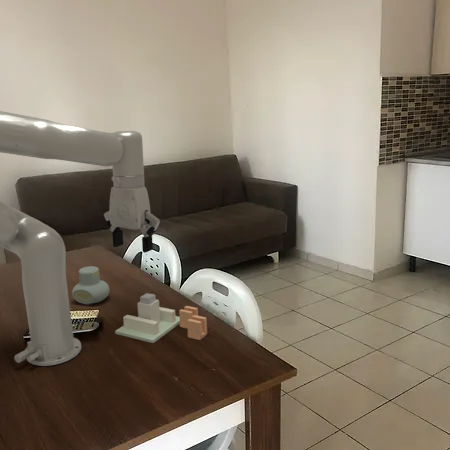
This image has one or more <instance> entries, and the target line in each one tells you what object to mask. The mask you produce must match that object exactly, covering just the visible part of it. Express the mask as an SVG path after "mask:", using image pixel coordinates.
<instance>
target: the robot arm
mask: <svg viewBox="0 0 450 450" xmlns="http://www.w3.org/2000/svg"><path fill="white" fill-rule="evenodd" d="M0 153H1V154H2V153H3V154H9V155H17V156H23V157H29V158H36V159H43V160H45V159H46V160H57V161H58V160H59V161H66V162H71V163H72V162H73V163H77V164H78V163H79V164H88V165H92V166H93V165H94V166H100V167H111V166H112V176H111V181H112V182H113V186H111V188H110V194H109V195H110V196H109V210H108V211H106V212H104V213H103V216H104V219H105V221H106V224H107V225H108V228H109V231H110V232H111V233H112V235H111V236H112V245H113V246H112V247H114V248H118V247H121V246H123V245H124V233H123V232H124V231H123V228H124V229H127V230H136V231H137V230H139V231H140V232H141V234H142V237H141V244H142V245H141V247H142V249H141V250H142V252H143V253H144V254H146V253H149V252H150V251H153V248H154V247H153V236H154V235H155V233H156V232H157V230H158V228H159V225H160V222H161V220H160V218H158V217H157V216H155V215H154V214H153V213H151V205H150V198H149V193H148V190H147V187H145V169H144V168H145V167H144V166H145V165H144V147H143V136H142V134H141V132H139V131H136V130H134V131H133V130H123V131H122V130H119V131H114V132H106V131H101V130H97V129H96V130H95V129H90V128H85V127H80V126H79V127H78V126H74V125H69V124H63V123H59V122H55V121H52V120H48V119H44V118H41V117H40V118H39V117H34V116H29V115H23V114H18V113H14V112H13V113H12V112H7V111H2V110H0ZM107 225H106V226H107ZM121 228H122V229H121ZM64 242H65V241H64V240H63V238H62V236H61V234H60V233H58V231H56V230H55V229H54V228H53V227H50V226H49V225H48V224H45V223H43V222H42V221H40V220H38V219H37V218H35V217H32V216H30V215H28V214H26V213H25V212H22V211H21V210H19V209H16V208H15V207H13V206H11V205H9V204H7V203H5V202H3V201H2V200H0V248H2V249H4V250H7V251H8V252H11V253H13V254H15V255H16V256H18V258H19V259H20V262H21V264H20V265H21V281H22V283H21V284H22V289H23V290H22V291H23V296H24V303H25V308H26V309H25V310H26V316H27V323H28V329H29V337H30V340H29V341H27V342H26V344H27V347H26V348H24V350H23V351H20V352H18V353H17V354H15V355H14V358H13V359H14V361H15V362H16V363H19V364H20V363H22V362H24V361H27V362H28V363H29V364H32V365H35V366H41V367H47V366H48V367H50V366H54V365H55V366H56V365H60V364H62V363H63V364H64V363H66V362H68V361H70V360H72V359H73V358H75V357H77V356H78V354H79V353H80V352H81V350H82V343H81V341H80V340H79V339H78V338H76V337H74V331H73V330H74V329H73V323H72V315H71V308H70V301H69V300H70V298H69V292H68V291H69V290H68V282H67V273H66V260H67V259H66V257H67V256H66V255H67V254H66V253H67V251H66V244H65V243H64Z"/></svg>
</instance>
